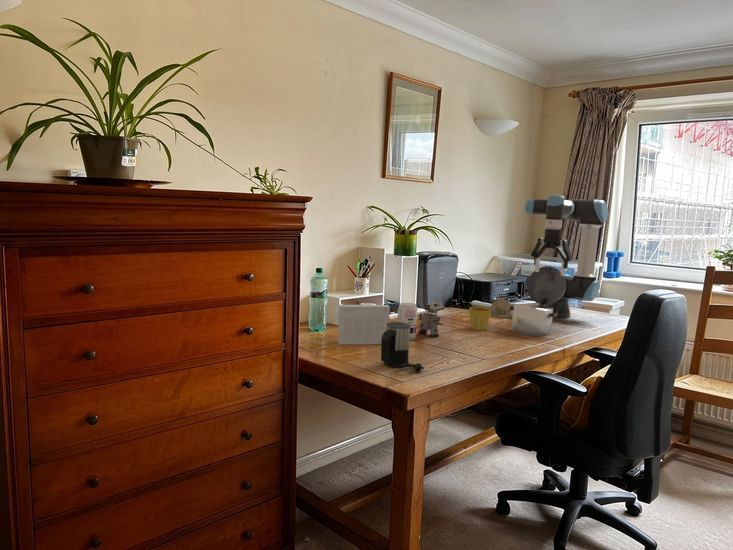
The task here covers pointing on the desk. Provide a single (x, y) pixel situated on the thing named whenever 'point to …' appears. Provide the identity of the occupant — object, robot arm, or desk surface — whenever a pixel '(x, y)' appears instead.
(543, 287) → the lid
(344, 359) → the desk surface
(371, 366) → the desk surface
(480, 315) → the plant pot
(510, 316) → the ceramic model
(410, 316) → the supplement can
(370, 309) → the skincare box
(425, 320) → the figurine
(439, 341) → the desk surface
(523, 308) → the cooker pot
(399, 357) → the milk frother
